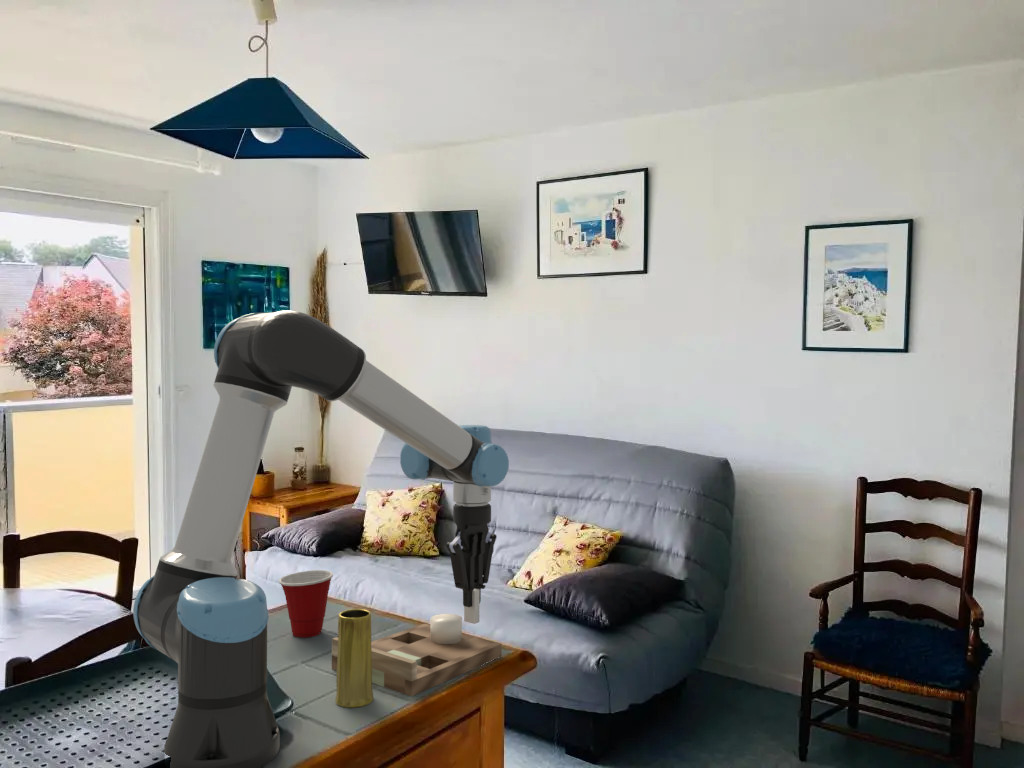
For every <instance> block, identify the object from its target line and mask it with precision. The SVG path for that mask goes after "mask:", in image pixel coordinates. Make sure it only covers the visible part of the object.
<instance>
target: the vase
mask: <svg viewBox="0 0 1024 768" xmlns="http://www.w3.org/2000/svg"><path fill="white" fill-rule="evenodd" d="M337 619H338V621H337V628H338V629H337V630H338V631H337V633H338V635H337V637H338V656H337V671H336V680H335V681H336V686H335V688H336V696H335V699H334V701H335V703H336V705H337V706H339V707H342V708H347V709H356V708H362V707H365V706H368V705H370V704H371V703H372V702H373V701H374V698H375V697H374V691H373V683H372V649H371V642H372V612H371V610H367V609H365V608H351V609H346V610H343V611H341V612H339V613H338V618H337Z"/></svg>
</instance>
